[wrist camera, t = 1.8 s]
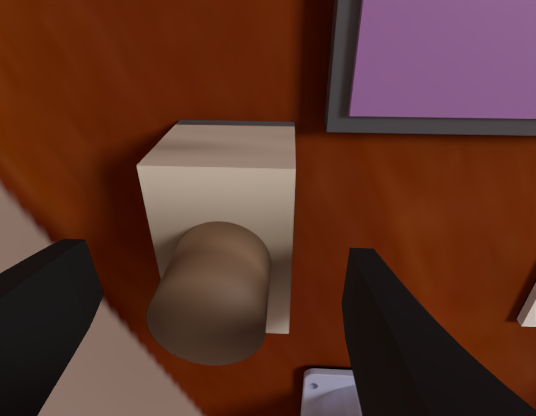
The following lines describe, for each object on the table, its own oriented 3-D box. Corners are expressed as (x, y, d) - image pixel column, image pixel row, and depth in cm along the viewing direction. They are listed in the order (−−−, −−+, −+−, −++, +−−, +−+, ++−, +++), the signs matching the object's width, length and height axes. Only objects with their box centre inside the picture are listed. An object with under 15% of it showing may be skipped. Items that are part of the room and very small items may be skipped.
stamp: (289, 257, 15) (288, 405, 10) (198, 254, 15) (145, 397, 10) (294, 121, 12) (296, 222, 6) (180, 119, 12) (88, 215, 7)
